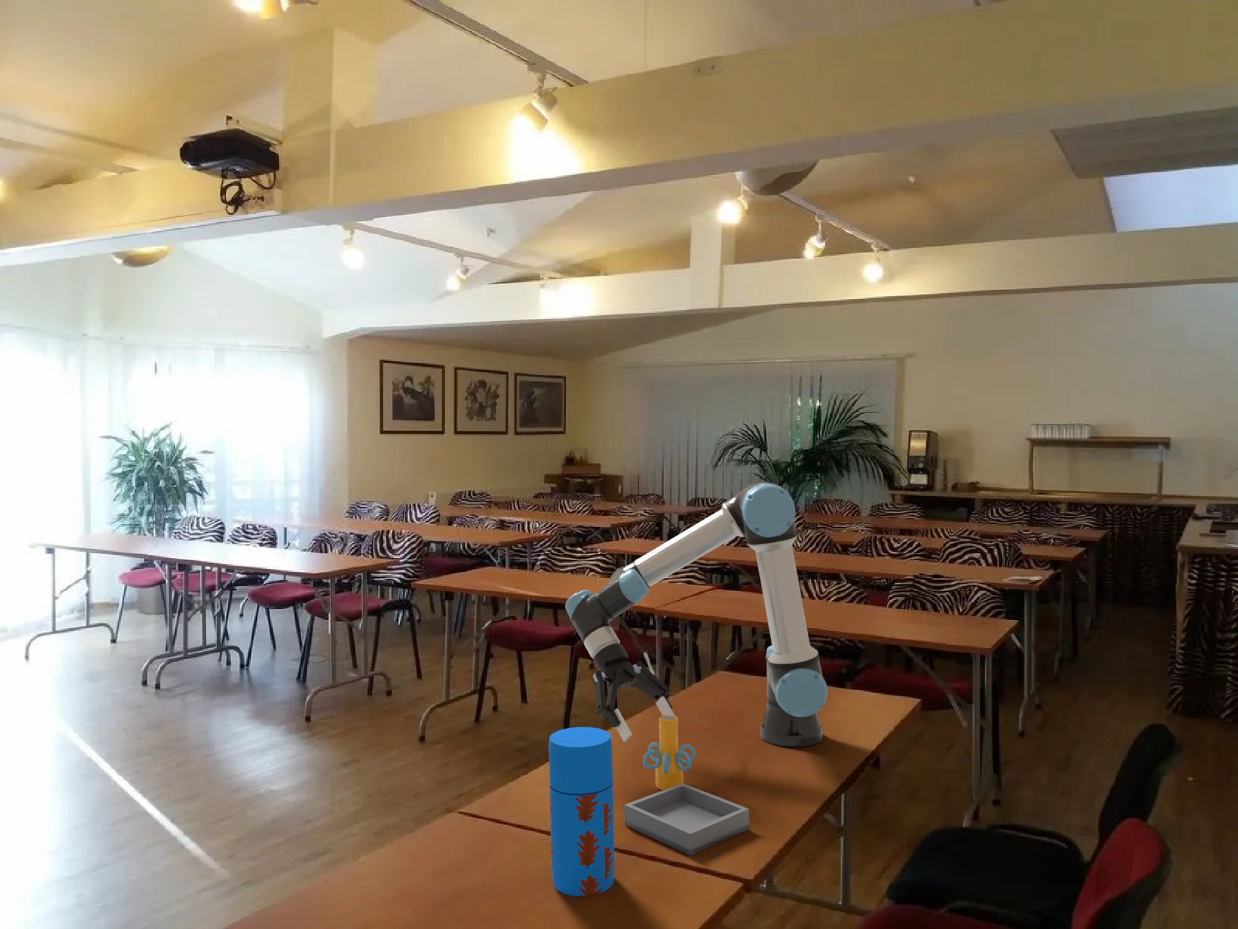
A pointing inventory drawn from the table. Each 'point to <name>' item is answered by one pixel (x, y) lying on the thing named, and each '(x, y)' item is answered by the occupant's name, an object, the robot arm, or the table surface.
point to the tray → (686, 818)
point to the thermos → (581, 810)
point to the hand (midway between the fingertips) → (651, 731)
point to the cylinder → (668, 754)
